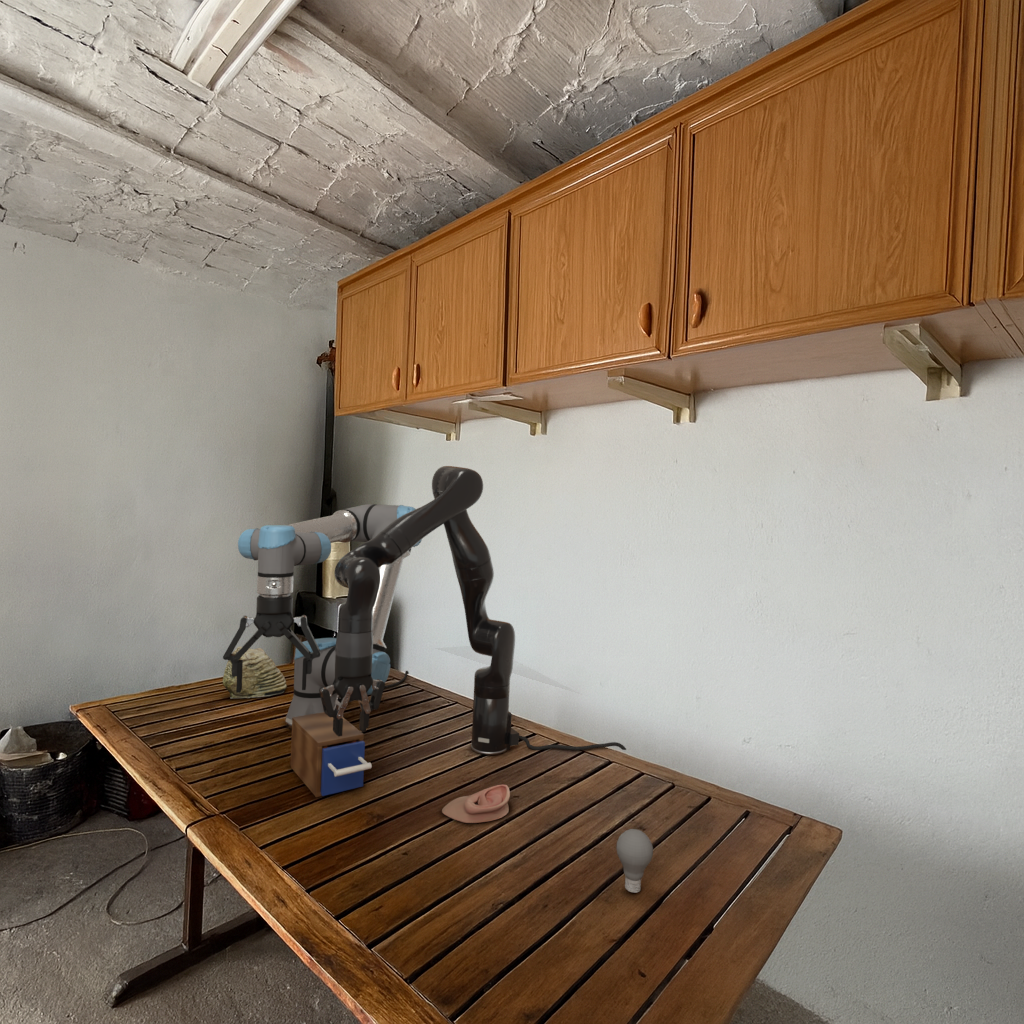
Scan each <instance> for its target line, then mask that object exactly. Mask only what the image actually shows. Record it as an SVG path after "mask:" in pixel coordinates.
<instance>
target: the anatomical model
mask: <svg viewBox="0 0 1024 1024" xmlns="http://www.w3.org/2000/svg"><path fill="white" fill-rule="evenodd" d="M510 798H511V791H510V788H509V786H508V785H507V784H497V785H493V786H490V787H487V788H484V789H481V790H480V791H477V792H475V793H473V794H470V795H463V796H460V797H457V798H454V799H453V800H451V801H449V802H448V803H447V804H445V806H443V808H442V810H441V813H442V814H443V815H444V816H446V817H448V818H450V819H452V820H455V821H458V822H460V823H464V824H477V823H485V822H492V821H495V820H499V819H502V818H503V817H505V816H507V815H508V814H509V810H510V807H509V801H510Z"/></svg>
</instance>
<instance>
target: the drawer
mask: <svg viewBox="0 0 1024 1024" xmlns="http://www.w3.org/2000/svg"><path fill="white" fill-rule="evenodd" d="M365 752H366V742H365V741H364V740H363V741H359V742H356V740H352V741H347V742H342V743H337V744H332V745H327V746H322V764H321V795H322V796H321V797H325V796H330V795H334V794H338V793H342V792H345V791H349V790H350V791H351V790H354V789H358V788H362V787H364V777H365V776H364V774H365V771H366V770H371V769H372V767H373V765H372V763H371V762H367V760H365Z"/></svg>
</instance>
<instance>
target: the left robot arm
mask: <svg viewBox="0 0 1024 1024" xmlns="http://www.w3.org/2000/svg"><path fill="white" fill-rule="evenodd" d="M416 509H417V508H415V507H414V506H410V505H409V506H408V505H404V504H400V505H397V504H376V503H367V504H361V505H357V506H352V507H348V508H344V509H339V510H336V511H335V512H334V513H333V514H332V515H328V516H323V517H317V518H313V519H307V520H304V521H298V522H293V523H288V524H281V525H280V524H268V525H265V524H264V525H263V526H261V527H260V528H257V527H256V528H247V529H245V530H244V531H242V533H241V534H240V535H239V537H238V540H237V549H238V552H239V554H240V555H241V556H242V557H243V558H245V559H247V560H253V561H257V581H256V593H257V594H258V596H257V597H256V610H255V613H256V614H255V617H252V616H251V617H249V616H247V615H242V616H241V618H240V620H239V621H240V622H239V627H238V629H237V631H236V633H235V635H234V637H233V638H232V640H231V642H230V644H229V645H228V647H227V648H226V650H225V652H224V654H223V655H222V659H223V660H224V661H228V660H229V661H231V662H232V676H233V677H237V689H236V693H240V692H241V690H242V670H243V660H239V659H240V658H241V657H242V656H243V655H244V654H245V652H246V651H247V650H248V649H249V648H250V649H251V647H252V646H253V645H254V644H255V643H256V642H257V641H258V639H260V638H261V637H262V636H263V637H264V638H272V637H274V638H281V637H284V636H285V637H286V639H287V640H289V641H290V642H291V643H292V645H293V646H294V647H295V652H294V653H295V654H294V657H293V660H294V661H293V662H294V663H293V664H294V668H293V695H292V696H293V697H292V699H291V702H290V704H289V708H288V711H287V713H286V715H285V726H286V728H287V729H289V730H292V717H298V716H304V715H310V714H316V713H322V712H324V709H323V705H322V701H321V697H320V692H319V688H320V687H324V688H325V687H328V686H330V685H332V683H333V681H334V679H335V654H336V652H335V647H336V638H337V637H321V638H315V637H314V636H313V635H314V634H313V633H312V631H311V629H310V627H309V624H308V616H307V615H305V614H302V615H301V616H295V617H294V615H293V601H294V597H293V595H291V594H293V593H294V577H295V576H294V573H295V567H296V566H305V565H317V564H321V563H323V562H325V561H327V560H328V558H329V557H330V555H331V552H332V544H333V543H336V542H339V543H343V544H345V543H346V544H347V543H351V542H357V543H365V542H367V541H369V540H371V539H373V538H374V537H375V536H376V535H377V534H378V533H380V532H381V531H382V530H383V529H384V528H386V527H387V526H388V525H389V524H391V523H392V522H393V521H395V520H396V519H398V518H399V517H401V516H403V515H405V514H407V513H409V512H411V511H413V510H416ZM422 541H423V539H421V540H420V541H419V542H418V543H417V544H415V545H414V546H413V547H412V548H415V547H417V546H419V545H420V544H421V542H422ZM412 548H411V549H410V550H409V551H407V552H406V553H405V554H404V555H403V556H402V557H400V558H399V559H398V560H397V561H396V562H394V563H392V564H388V565H383V566H381V567H379V570H380V577H381V578H380V586H379V591H378V594H377V598H376V602H375V605H374V608H373V624H372V635H373V656H372V673H371V676H372V678H373V679H374V680H377V679H380V680H382V681H383V682H385V683H386V682H387V680H388V678H389V676H390V672H391V658H390V656H389V654H388V653H386V652H387V645H386V643H385V642H384V636H385V633H386V629H387V625H388V620H389V617H390V613H391V610H392V606H393V601H394V597H395V594H396V590H397V586H398V582H399V578H400V574H401V570H402V565H403V562H404V559H405V558H407V557H409V556H411V551H412ZM294 623H296V624H297V626H298V627H301V630H302V633H303V635H304V637H305V639H306V640H304V641H301V639H300V638H299V637H298V636H297V634H295V632H294V631H293V630H292V628H291V627H292V626H293V625H294ZM252 624H253V625H254V626H255V627H256V629H257V630H256V631H255V632H254V633H253V635H252V636H251V637H249V639H248V640H247V641H246V642H245V643H244V644H243V645H242V646H241V647H242V648H241V649H240V650H239V651H238V652H237V653H236V654H232V653H233V652H234V651H235V649H236V646H237V645H238V643H239V642H240V639H241V638H242V636H243V635H244V632H245V631H246V628H249V627H250V626H251V625H252ZM409 674H410V672H409V670H405V671H404V676H403V677H402V678H401V679H400V680H399V681H397V682H394V683H391V684H387V685H385V687H384V689H388V688H389V689H390V688H392V687H395V686H398V685H400V684H402V683H403V682H404V681H406V679H407V677H408V675H409ZM372 691H373V689H372V686H371V687H370V689H369V690H368V692H367V696H371V695H372ZM337 695H338V694H337V693H336V692H335V690H334V691H333V693H332V697H330V698H331V703H332V707H333V710H334V707H335V701H336V698H337ZM342 717H343V718H344V715H343V716H342Z"/></svg>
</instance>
